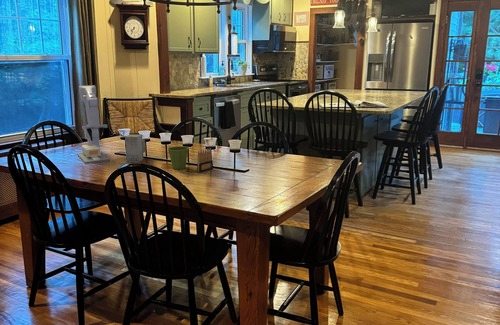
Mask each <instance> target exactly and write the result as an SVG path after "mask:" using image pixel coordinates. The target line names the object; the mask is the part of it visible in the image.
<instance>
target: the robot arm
mask: <svg viewBox="0 0 500 325" xmlns="http://www.w3.org/2000/svg"><path fill="white" fill-rule="evenodd" d="M78 90H79V98H80V100H81V101H83V103H84V105H85V112H86V120H87V124H86V125H82V126H81V128H82V130H83V131H84V138H85V139H86V140H87V143H86V145H92V144H95V145H96V146H98V147H99V148H100V149H101V144H100V142H101V141H102V135H103V132H104V130H105V129H107V128H108V124H105V123H104V124H100V113H99V107H100V101H99V98H98V97H97V88H96V85H95V84H94V85H79V86H78ZM101 153H103V152H102V151H101Z"/></svg>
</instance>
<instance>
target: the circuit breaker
mask: <svg viewBox="0 0 500 325" xmlns="http://www.w3.org/2000/svg"><path fill="white" fill-rule="evenodd" d="M124 144H125V150H126V151H125V152H126V153H125V160H126V161H125V162H127V163H140V162H141V161H143V160H144V153H146V140H145V139H143V134H130V133H129V134H127V135H126V136H125V139H124Z"/></svg>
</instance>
